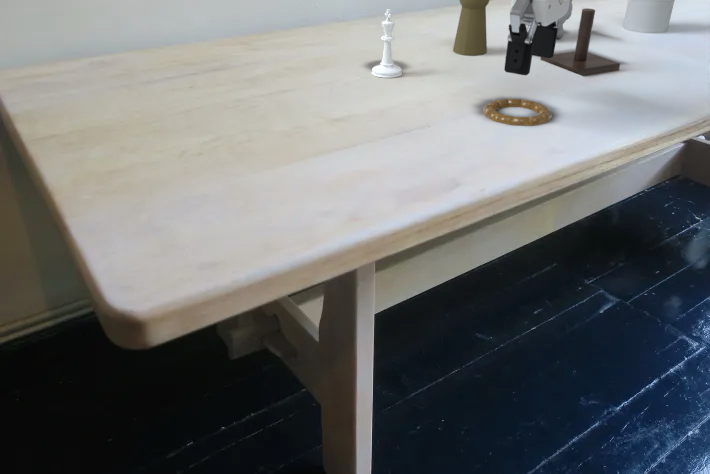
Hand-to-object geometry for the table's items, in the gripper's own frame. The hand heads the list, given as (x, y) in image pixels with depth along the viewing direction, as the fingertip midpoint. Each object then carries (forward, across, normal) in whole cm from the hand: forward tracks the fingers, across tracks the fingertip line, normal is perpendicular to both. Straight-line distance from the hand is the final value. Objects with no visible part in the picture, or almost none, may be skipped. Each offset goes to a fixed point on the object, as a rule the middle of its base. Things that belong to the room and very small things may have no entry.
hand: (529, 64), depth 89 cm
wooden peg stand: (+6, +26, 0) cm, 27 cm away
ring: (+6, -3, 0) cm, 7 cm away
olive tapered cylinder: (+7, +26, +19) cm, 33 cm away
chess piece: (+7, +6, +25) cm, 26 cm away
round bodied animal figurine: (+7, +45, +10) cm, 47 cm away
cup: (+6, +56, -5) cm, 56 cm away
